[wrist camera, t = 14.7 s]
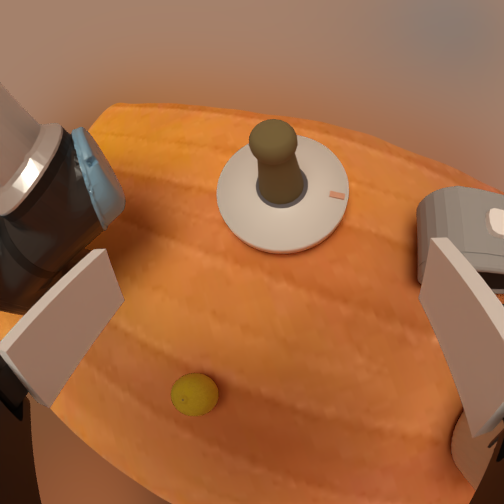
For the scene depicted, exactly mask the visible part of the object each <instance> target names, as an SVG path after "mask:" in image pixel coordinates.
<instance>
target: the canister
mask: <svg viewBox="0 0 504 504" xmlns="http://www.w3.org/2000/svg"><path fill="white" fill-rule="evenodd" d="M503 429H504V423H503V420H502V421H501V422H500V423H499V424H498V425H497V426H496V427H495V428H494V429H493V431H491V432H488V433H485V434H482V435H480V436H477V437H474V438H472V435H471V431H470V428H469V424H468V421H467V418H466V414H465V411H463V413H462V414H461V416H460V418H459V419H458V422H457V424H456V425H455V430H454V431H453V437H452V443H451V448H452V449H451V453H452V457H453V460H454V462H455V464H456V466H457V467H458V469H459V470H460V471H461V473H462V474H463V475H464V477H465V478H466V479H467V480H468V482H469V483H470V484H471V485H472V487H473V488H474V489H475V490H477V488H478V486H479V484H480V482H481V480H482V477H483V475H484V473H485V471H486V469H487V466H488V464H489V461H490V459H491V457H492V454H493V452H494V450H493V449H494V448H495V446H496V444H497V442H496V443H495V444H494V445H493V446H492V447H491V448H488V445H489V443H490V442H491V441H492V440H493V439H494V438H495V437H496V436H497V435H498V434H499V433H500V432H501V431H502V430H503Z"/></svg>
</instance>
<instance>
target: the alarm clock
mask: <svg viewBox="0 0 504 504" xmlns="http://www.w3.org/2000/svg"><path fill="white" fill-rule="evenodd" d="M416 216H417V239H418V282H419V283H420V284H421V285H422V281H423V277H424V272H425V267H426V262H427V256H428V251H429V245H430V239H431V238H448V239H449V240H450V241H451V242H452V243H453V244H454V246H455V247H456V248H457V249H458V250H459V251H460V252H461V253H462V255H463V256H464V257H465V258H466V259H467V260H468V261H469V263H470V264H471V265H472V266H473V267H474V269H475V270H476V271H477V272H478V273H479V275H480V276H481V277H482V278H483V280H484V281H485V282H486V284H487V285H488V286H489V287H490V289H491V290H492V291H493V293H494V294H504V195H501V194H497V193H493V192H489V191H485V190H481V189H475V188H468V187H461V186H454V187H447V188H442V189H439V190H437V191H434V192H432V193H431V194H429V195H428V196H426V197H425V198H424V199H423V200H422V201H421V202H420V203H419V205H418V207H417V212H416Z"/></svg>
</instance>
